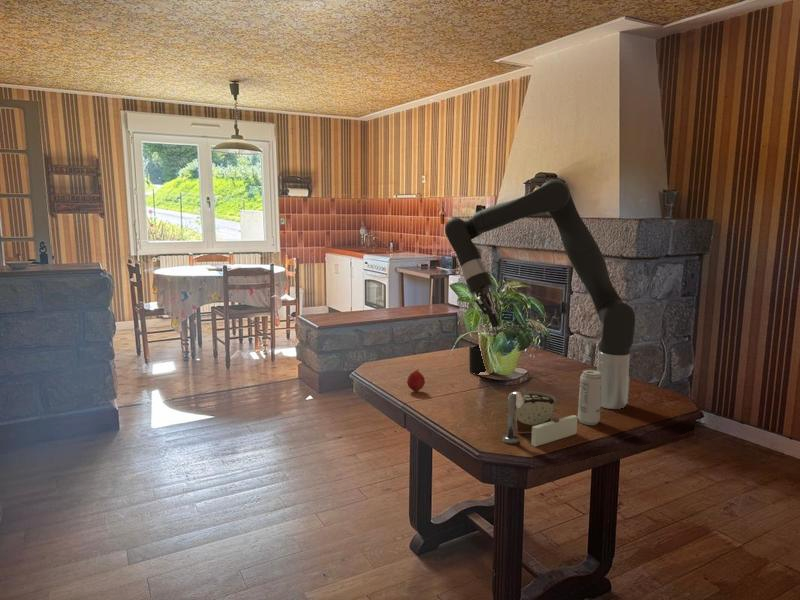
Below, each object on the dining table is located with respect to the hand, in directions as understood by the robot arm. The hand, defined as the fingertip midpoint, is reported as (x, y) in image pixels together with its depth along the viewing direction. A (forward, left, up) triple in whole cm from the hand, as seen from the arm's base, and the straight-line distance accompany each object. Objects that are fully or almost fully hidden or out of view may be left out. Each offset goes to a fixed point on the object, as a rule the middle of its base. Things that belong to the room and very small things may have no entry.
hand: (496, 326), depth 169 cm
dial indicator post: (+16, +24, -25) cm, 38 cm away
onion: (+15, -22, -25) cm, 37 cm away
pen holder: (-19, -28, -25) cm, 42 cm away
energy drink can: (-13, +26, -25) cm, 38 cm away
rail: (+5, +29, -25) cm, 39 cm away
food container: (+5, +20, -25) cm, 33 cm away
